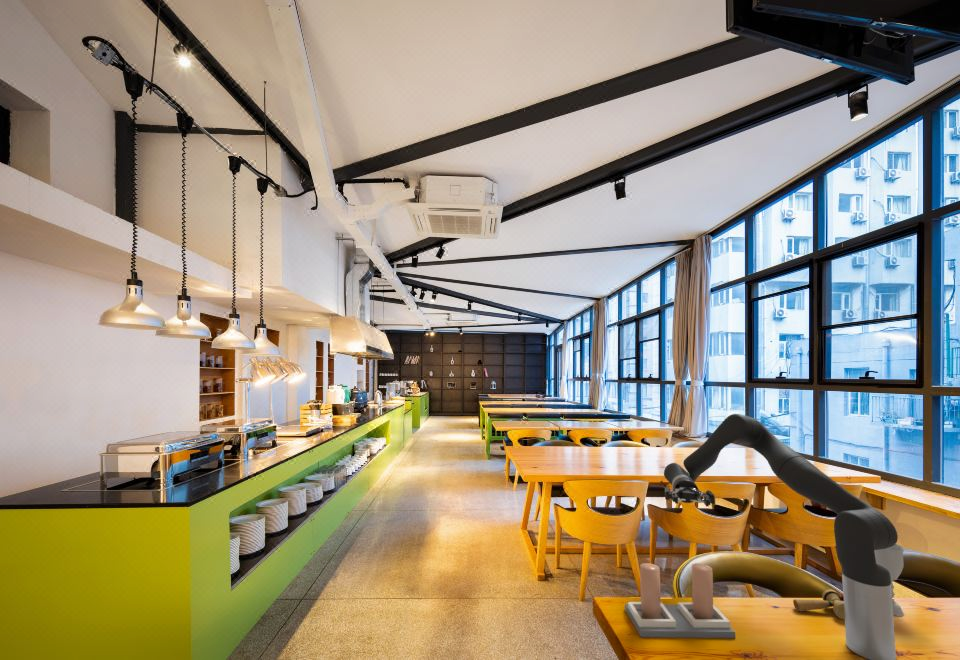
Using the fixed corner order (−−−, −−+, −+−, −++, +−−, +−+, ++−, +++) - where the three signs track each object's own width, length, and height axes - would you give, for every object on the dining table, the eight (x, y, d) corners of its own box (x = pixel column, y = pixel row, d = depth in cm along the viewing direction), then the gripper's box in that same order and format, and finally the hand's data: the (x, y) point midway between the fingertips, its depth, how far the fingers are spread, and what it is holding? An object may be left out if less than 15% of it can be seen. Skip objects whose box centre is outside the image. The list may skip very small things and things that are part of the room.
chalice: (883, 615, 126) (878, 548, 127) (870, 603, 132) (866, 539, 134) (915, 619, 124) (910, 551, 125) (900, 607, 130) (896, 542, 132)
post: (701, 610, 125) (700, 562, 126) (717, 619, 121) (716, 569, 121) (688, 614, 123) (687, 565, 124) (704, 624, 118) (704, 573, 119)
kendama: (807, 624, 124) (878, 620, 122) (800, 599, 125) (870, 594, 123) (793, 615, 131) (860, 610, 129) (786, 590, 133) (852, 586, 131)
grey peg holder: (709, 610, 128) (707, 557, 129) (735, 637, 115) (733, 578, 116) (625, 609, 128) (623, 556, 129) (641, 637, 115) (639, 578, 116)
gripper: (661, 475, 155) (666, 487, 140) (707, 478, 151) (717, 491, 136) (662, 497, 155) (667, 512, 139) (708, 501, 150) (718, 516, 135)
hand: (692, 501), depth 137 cm, fingers open, 8 cm apart
